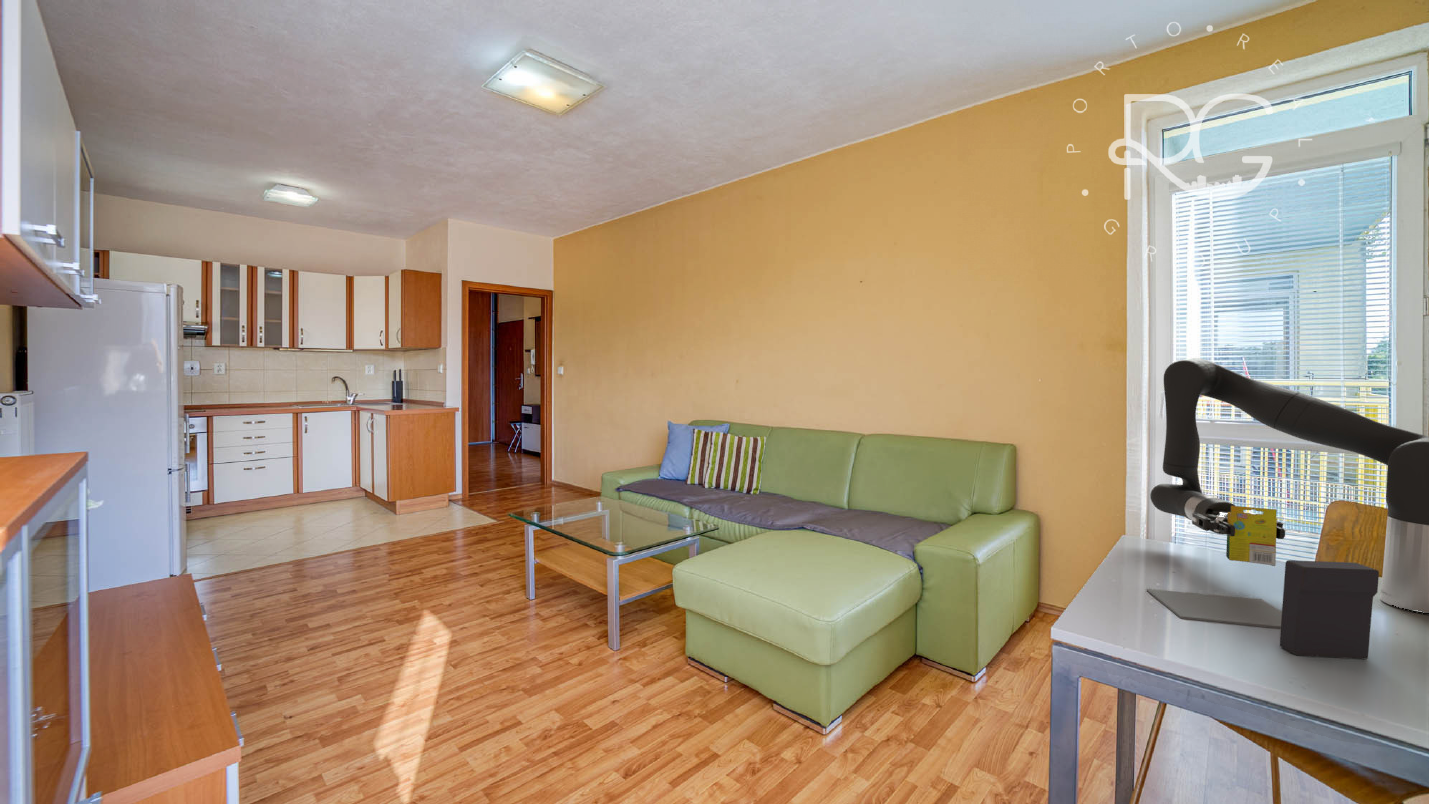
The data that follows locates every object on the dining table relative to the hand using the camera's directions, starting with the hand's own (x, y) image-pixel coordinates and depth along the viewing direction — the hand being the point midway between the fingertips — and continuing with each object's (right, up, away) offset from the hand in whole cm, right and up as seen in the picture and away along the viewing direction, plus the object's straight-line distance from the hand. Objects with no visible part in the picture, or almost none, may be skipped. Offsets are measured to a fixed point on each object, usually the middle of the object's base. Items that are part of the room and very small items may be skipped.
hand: (1257, 532), depth 119 cm
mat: (-12, -13, -6) cm, 19 cm away
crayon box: (+1, -7, +2) cm, 7 cm away
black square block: (-11, -15, -23) cm, 29 cm away
